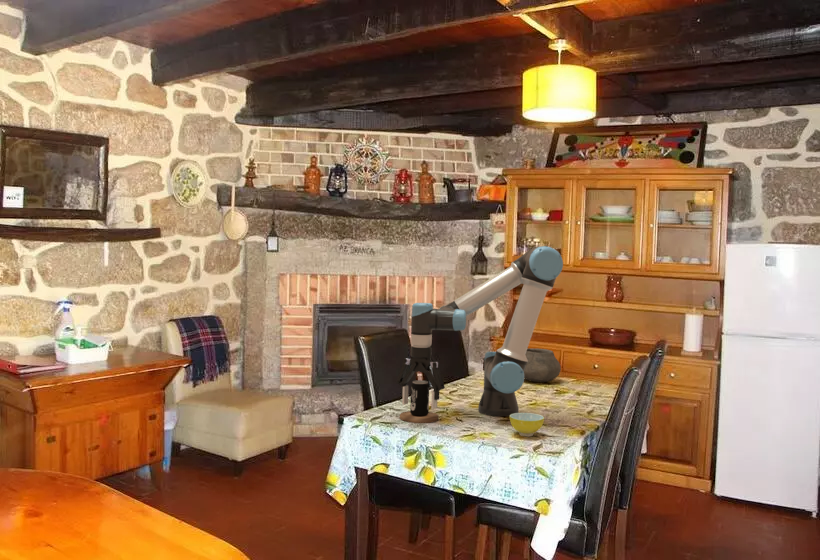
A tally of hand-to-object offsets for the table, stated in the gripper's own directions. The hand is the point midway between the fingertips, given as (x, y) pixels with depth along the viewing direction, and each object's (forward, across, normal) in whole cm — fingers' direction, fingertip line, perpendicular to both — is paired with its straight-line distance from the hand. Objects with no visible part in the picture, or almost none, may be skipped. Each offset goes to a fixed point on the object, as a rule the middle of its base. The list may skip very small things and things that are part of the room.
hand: (419, 406), depth 253 cm
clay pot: (+5, -4, -100) cm, 100 cm away
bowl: (+5, -40, -3) cm, 40 cm away
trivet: (+4, 0, 0) cm, 4 cm away
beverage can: (+3, 0, 0) cm, 3 cm away
